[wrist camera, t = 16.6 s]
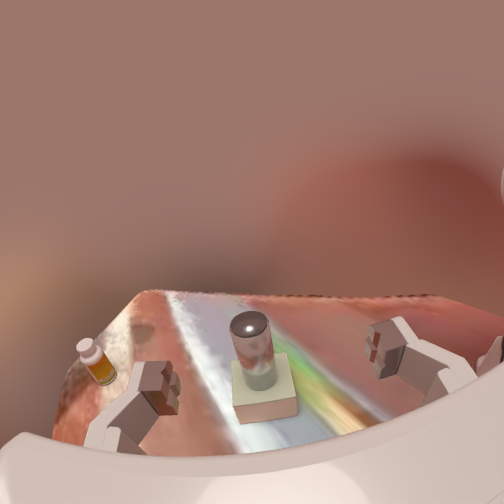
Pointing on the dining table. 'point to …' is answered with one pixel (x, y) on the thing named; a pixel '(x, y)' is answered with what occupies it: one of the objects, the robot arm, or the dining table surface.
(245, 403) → the beige block
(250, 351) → the canister
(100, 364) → the supplement bottle
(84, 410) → the dining table surface
